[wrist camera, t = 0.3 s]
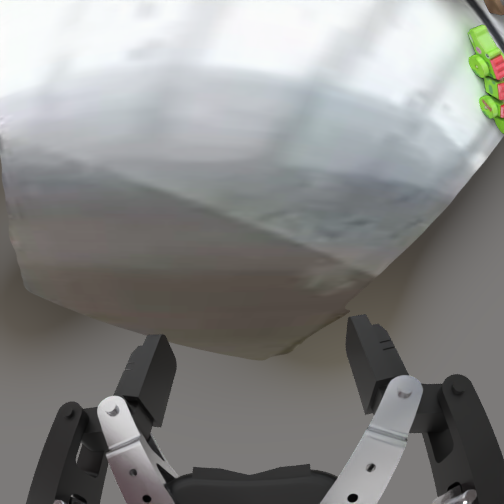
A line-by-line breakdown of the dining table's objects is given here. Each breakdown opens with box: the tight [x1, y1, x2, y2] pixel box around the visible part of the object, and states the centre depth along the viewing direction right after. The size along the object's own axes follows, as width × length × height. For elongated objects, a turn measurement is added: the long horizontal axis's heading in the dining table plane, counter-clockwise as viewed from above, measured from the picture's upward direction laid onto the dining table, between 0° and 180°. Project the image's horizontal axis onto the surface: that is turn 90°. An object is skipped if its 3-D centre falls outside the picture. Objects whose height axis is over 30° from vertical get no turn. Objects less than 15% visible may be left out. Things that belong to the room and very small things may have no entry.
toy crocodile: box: [468, 25, 504, 134], centre depth 22 cm, size 20×7×6 cm, turn 36°
